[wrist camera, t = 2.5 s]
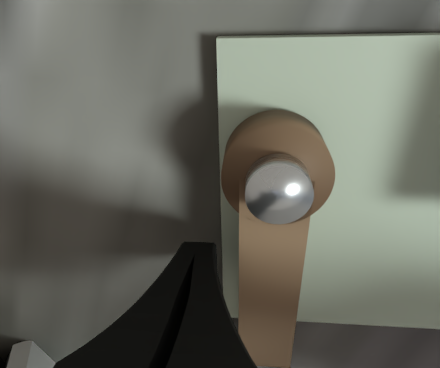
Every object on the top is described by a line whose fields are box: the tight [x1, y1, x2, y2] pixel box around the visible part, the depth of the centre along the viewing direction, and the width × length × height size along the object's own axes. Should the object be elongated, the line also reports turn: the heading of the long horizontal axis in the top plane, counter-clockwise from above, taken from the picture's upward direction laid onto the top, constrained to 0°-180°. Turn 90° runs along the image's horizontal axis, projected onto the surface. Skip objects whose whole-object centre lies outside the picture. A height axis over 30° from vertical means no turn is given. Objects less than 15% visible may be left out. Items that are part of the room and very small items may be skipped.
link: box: [221, 110, 335, 368], centre depth 13 cm, size 12×4×2 cm, turn 2°
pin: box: [245, 153, 314, 224], centre depth 10 cm, size 2×2×1 cm
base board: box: [216, 33, 440, 329], centre depth 13 cm, size 14×13×1 cm
